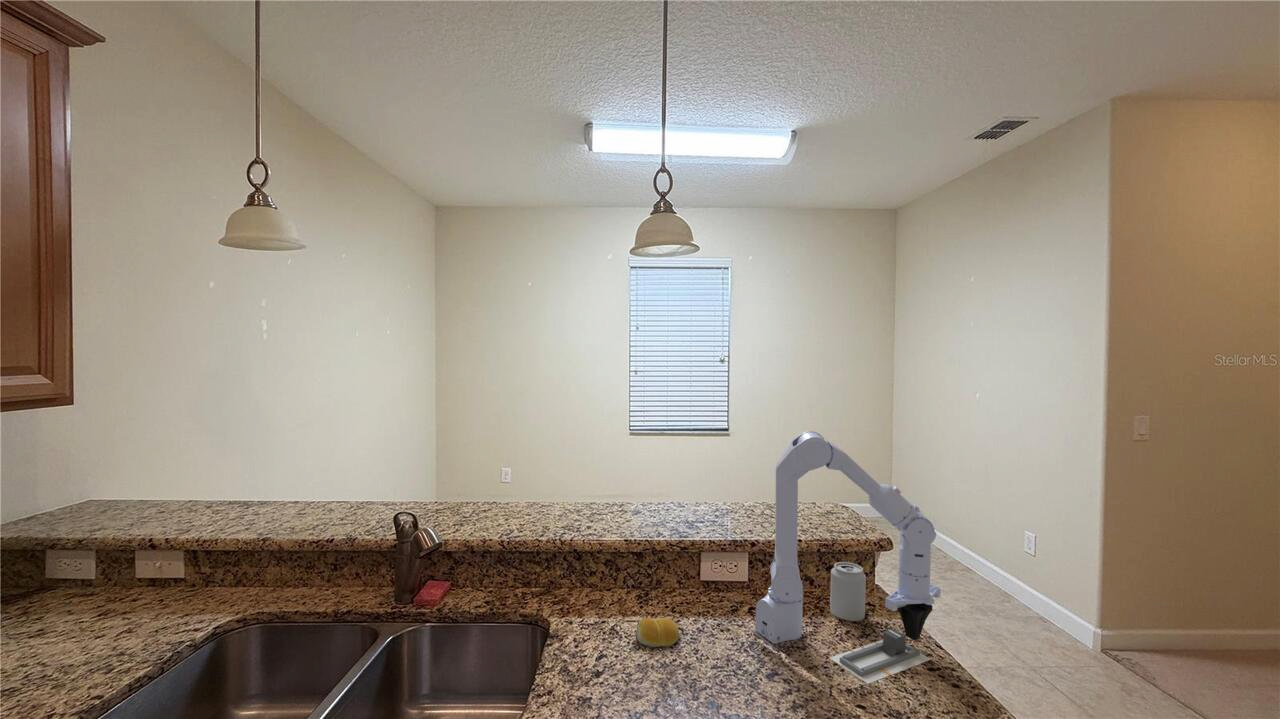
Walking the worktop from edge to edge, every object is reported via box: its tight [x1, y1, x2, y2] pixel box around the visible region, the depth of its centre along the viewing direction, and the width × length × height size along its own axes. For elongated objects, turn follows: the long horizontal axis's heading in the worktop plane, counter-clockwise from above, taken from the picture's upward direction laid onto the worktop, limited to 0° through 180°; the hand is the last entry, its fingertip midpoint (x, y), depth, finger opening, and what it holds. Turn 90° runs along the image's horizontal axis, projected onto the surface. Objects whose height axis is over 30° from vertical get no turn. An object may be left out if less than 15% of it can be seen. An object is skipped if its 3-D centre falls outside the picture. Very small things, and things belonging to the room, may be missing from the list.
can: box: [829, 561, 867, 622], centre depth 123 cm, size 8×8×12 cm
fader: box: [882, 628, 907, 657], centre depth 106 cm, size 3×3×4 cm
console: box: [829, 639, 932, 685], centre depth 104 cm, size 18×9×2 cm, turn 117°
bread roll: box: [635, 617, 680, 648], centre depth 113 cm, size 8×9×4 cm
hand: (912, 637), depth 109 cm, fingers closed
